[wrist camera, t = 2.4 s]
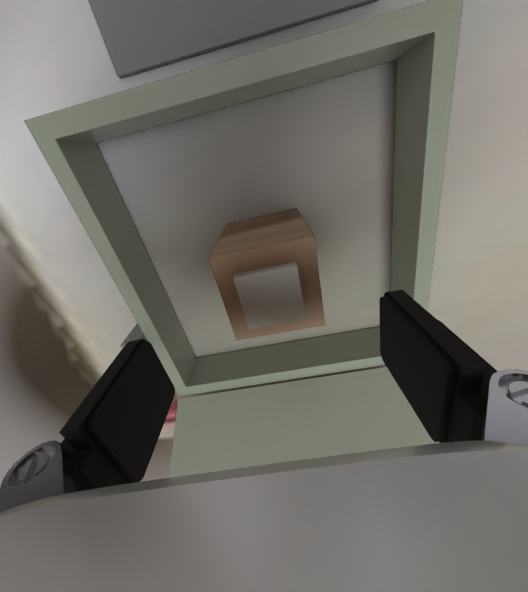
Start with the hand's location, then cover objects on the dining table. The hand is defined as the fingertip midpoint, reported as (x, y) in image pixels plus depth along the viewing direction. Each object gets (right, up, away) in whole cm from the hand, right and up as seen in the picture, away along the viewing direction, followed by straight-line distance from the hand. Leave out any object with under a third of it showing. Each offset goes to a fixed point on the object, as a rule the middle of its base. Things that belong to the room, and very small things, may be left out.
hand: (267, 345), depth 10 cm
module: (0, +6, +9) cm, 10 cm away
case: (+1, +2, +11) cm, 11 cm away
